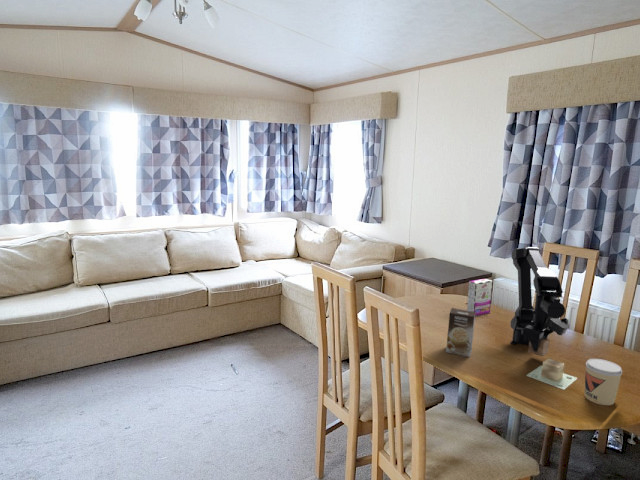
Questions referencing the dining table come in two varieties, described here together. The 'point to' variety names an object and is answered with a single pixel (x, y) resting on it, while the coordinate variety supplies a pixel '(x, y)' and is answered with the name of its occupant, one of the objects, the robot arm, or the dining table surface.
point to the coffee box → (460, 332)
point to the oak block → (552, 370)
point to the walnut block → (540, 347)
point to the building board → (562, 383)
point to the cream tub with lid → (602, 381)
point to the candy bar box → (479, 296)
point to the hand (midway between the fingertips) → (538, 349)
